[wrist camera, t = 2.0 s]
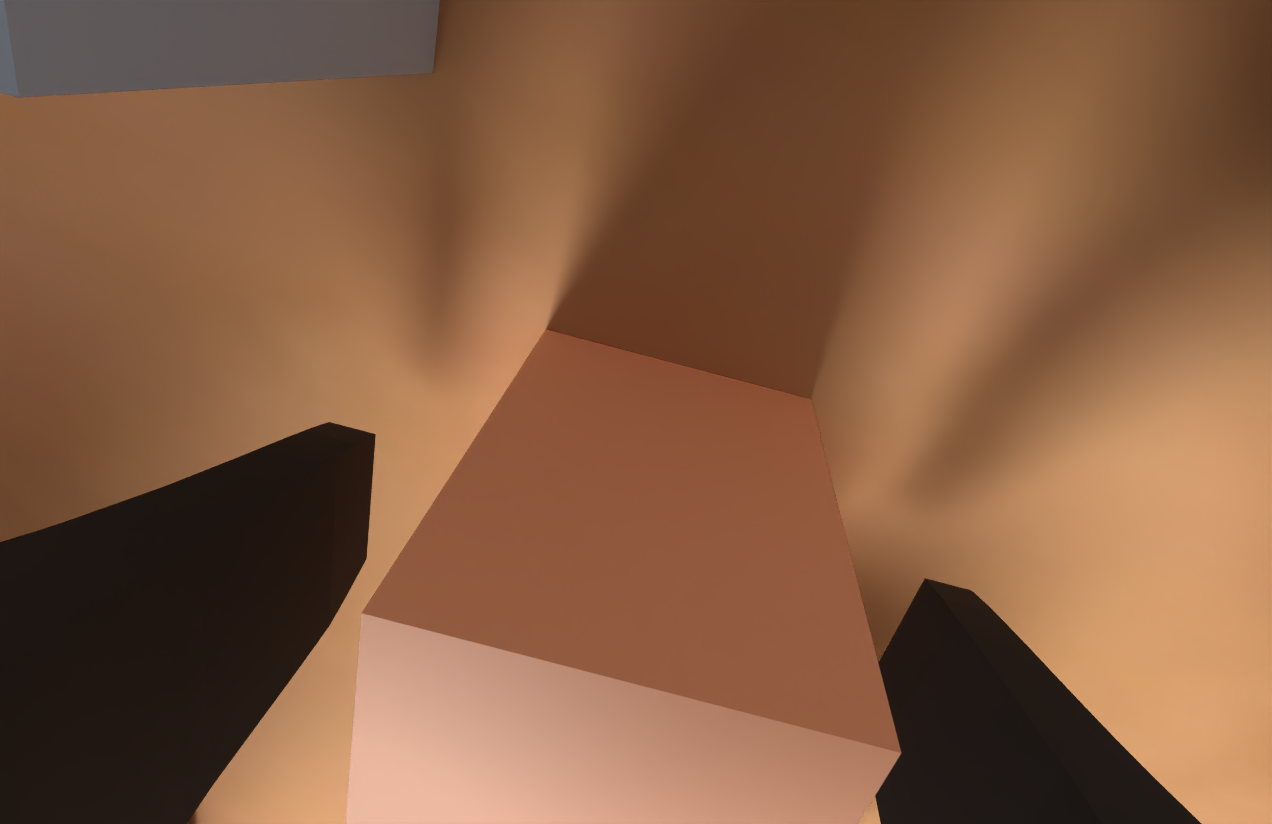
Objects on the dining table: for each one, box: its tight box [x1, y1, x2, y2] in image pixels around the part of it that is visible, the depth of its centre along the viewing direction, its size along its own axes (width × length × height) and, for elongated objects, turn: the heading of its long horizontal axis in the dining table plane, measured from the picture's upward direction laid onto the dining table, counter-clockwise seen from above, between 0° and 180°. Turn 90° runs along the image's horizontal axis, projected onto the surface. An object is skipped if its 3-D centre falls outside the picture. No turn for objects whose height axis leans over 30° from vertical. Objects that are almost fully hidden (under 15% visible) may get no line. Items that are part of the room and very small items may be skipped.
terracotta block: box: [346, 330, 901, 824], centre depth 9 cm, size 4×4×6 cm
